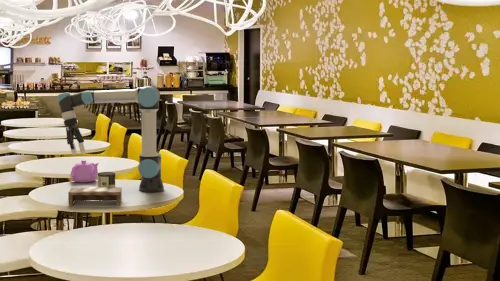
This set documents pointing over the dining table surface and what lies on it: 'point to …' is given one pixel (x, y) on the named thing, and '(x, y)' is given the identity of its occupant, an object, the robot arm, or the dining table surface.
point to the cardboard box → (95, 194)
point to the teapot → (84, 172)
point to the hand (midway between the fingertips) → (79, 154)
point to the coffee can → (106, 179)
